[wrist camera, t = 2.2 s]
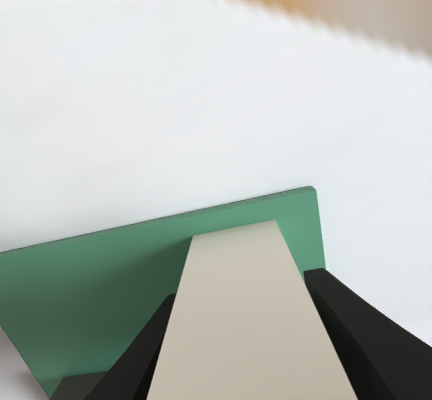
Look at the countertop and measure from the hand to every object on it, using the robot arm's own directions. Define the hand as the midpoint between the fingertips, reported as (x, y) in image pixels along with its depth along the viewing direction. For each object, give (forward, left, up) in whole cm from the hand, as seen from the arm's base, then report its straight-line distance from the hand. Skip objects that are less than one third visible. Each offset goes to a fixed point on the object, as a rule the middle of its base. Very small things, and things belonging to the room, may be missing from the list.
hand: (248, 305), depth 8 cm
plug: (0, 0, -1) cm, 1 cm away
